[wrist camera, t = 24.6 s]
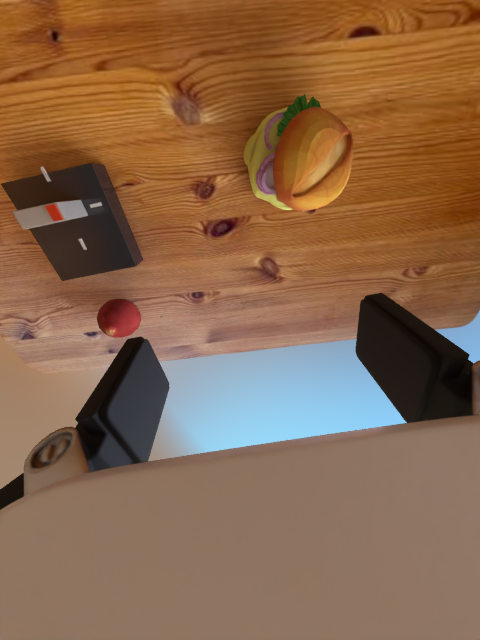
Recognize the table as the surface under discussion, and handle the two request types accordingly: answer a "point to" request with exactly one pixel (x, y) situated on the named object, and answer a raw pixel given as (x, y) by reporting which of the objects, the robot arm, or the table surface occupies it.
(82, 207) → the knob
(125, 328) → the onion
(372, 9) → the table surface
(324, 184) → the cheeseburger
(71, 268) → the dial base
